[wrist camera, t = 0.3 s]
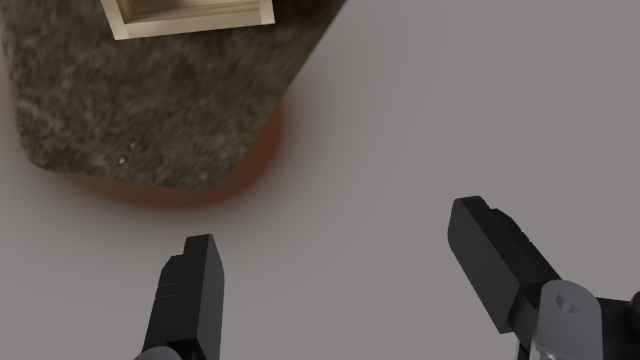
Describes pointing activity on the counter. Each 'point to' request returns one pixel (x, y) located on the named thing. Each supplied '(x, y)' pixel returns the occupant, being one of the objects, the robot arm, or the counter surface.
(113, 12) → the crate
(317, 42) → the counter surface
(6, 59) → the counter surface
